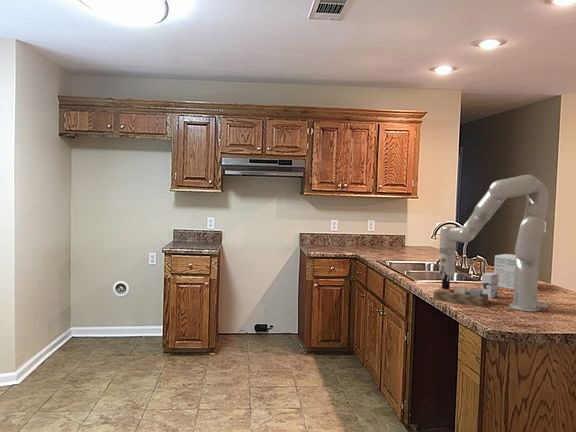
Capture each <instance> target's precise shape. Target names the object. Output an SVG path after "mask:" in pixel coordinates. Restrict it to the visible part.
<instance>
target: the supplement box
mask: <svg viewBox="0 0 576 432" xmlns="http://www.w3.org/2000/svg"><path fill="white" fill-rule="evenodd" d="M515 259H516V254H510V253H509V254H508V253H503V254H497V255H494V269H493V273H498V288H503V289H509V290H514V276H515Z"/></svg>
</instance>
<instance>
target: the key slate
mask: <svg viewBox="0 0 576 432" xmlns="http://www.w3.org/2000/svg"><path fill="white" fill-rule="evenodd" d="M469 292H470V295H471V296H478V297H481V296H482V294H483V289H482V288H475V287H474V288H473V287H472V288H470V289H469Z"/></svg>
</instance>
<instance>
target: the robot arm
mask: <svg viewBox="0 0 576 432" xmlns="http://www.w3.org/2000/svg"><path fill="white" fill-rule="evenodd" d="M546 187H547V186H545V184H544V183H543V182H542V181H541V180H539V179H538V178H537V177H535V176H534V175H532V174H522V175H518V176H514V177H508V178H504V179H498V180H495V181H493V182H492V183H491V184H490V185H489V188H488V189H487V191H486V192H485V194H484V195H483V196H482V198H480V200H479V201H478V202H477V204H476V205H475V206H474V208H473V211H472V213H471V214H470V216H469V218H468V220H466V222H465V223H464V224H463V225H462V226H458V227H456V226H455V225H454V226H453V225H442V226H441V227H440V232H439V253H438V254H439V255H440V257H439V267H438V269H439V270H438V272H439V275H440V276H441V288H442V289H447V290H448V289H451V288H450V286H451V284H450V283H451V276H453V275H454V274H455V273H456V255H457V252H456V251H457V243H464V244H466V243H469V242H471V241H473V240H474V238H475V237H476V236H477V235H478V234H479V232H480V231H481V230H482V228H483V227H484V226H485V225H486V224H487V222H488V221H489V220H491V218H492V217H493V216H494V214H495V213H496V211H497V210H498V209H499V208H500V207H501V205H502V204H503V203H504V202H505V201H506V199H509V198H513V197H514V198H516V197H519V196H526V205H525V210H524V215H523V218H522V220H521V221H520V225H519V228H518V233H517V234H518V235H517V237H516V238H517V239H516V242H515V246H514V255H516V259H515V276H514V289H513V296H512V297H513V300H512V302H510V303H509V304H508V306H509V308H511V309H513V310H517V311H521V312H522V311H523V312H540V311H541V308H544V309H548V307H549V306H548V303H546V302H541V301H539V299H538V285H539V284H538V282H539V266H540V251H541V248H542V247H541V246H542V242H543V238H544V232H545V230H546V229H545V228H546V225H545V223H546V216H547V211H548V206H549V198H550V197H549V193H548V190H547V188H546Z"/></svg>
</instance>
